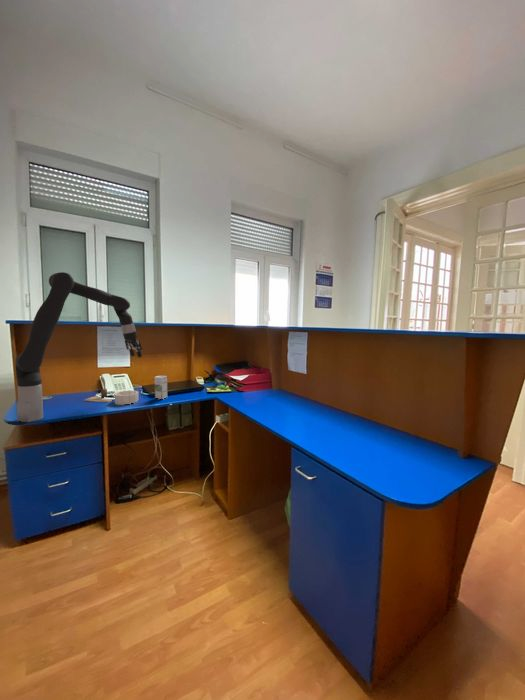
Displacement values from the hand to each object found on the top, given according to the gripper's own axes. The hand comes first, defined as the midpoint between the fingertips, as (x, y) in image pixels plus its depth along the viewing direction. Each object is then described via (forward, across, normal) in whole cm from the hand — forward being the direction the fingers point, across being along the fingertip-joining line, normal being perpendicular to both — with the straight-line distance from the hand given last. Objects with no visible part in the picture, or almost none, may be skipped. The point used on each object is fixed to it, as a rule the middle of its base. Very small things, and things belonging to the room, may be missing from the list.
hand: (136, 356), depth 182 cm
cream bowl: (+24, +1, -14) cm, 28 cm away
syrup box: (+29, +9, +4) cm, 31 cm away
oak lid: (+23, -17, -19) cm, 35 cm away
